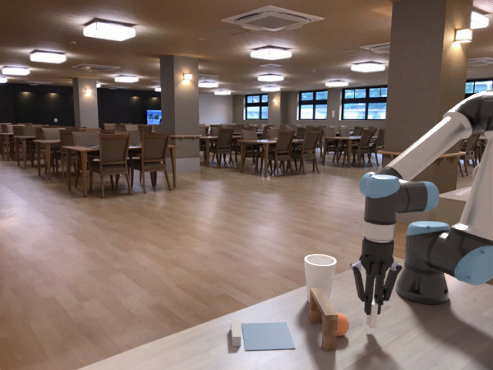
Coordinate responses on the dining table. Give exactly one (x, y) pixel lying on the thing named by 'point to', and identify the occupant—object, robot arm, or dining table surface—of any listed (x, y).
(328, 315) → the bridge
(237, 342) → the beige rectangular bar
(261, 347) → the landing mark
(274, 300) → the dining table surface
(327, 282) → the foam cup
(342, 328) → the ball
